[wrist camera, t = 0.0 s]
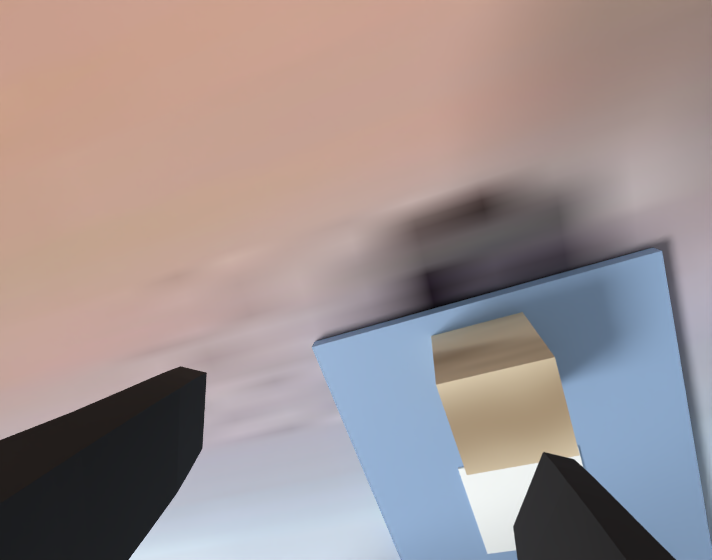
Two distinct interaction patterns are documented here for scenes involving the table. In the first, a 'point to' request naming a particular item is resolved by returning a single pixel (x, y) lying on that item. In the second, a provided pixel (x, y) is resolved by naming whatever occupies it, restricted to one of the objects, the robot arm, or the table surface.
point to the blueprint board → (583, 397)
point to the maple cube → (502, 394)
